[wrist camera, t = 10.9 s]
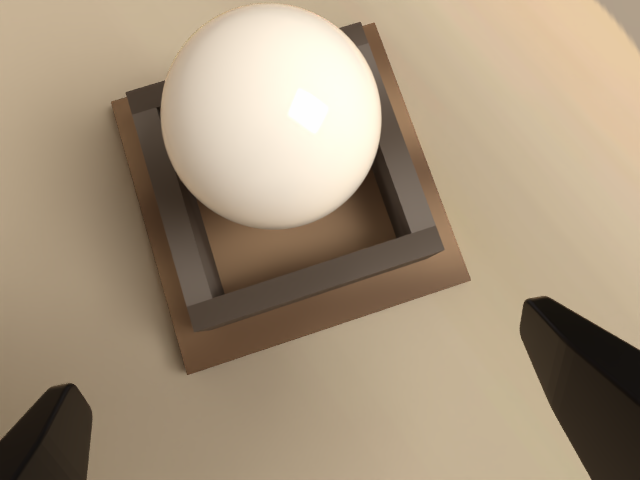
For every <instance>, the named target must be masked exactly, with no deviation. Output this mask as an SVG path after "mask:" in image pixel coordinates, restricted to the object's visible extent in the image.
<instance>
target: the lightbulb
mask: <svg viewBox="0 0 640 480" xmlns="http://www.w3.org/2000/svg"><path fill="white" fill-rule="evenodd" d="M160 119H161V130H162V136H163V141H164V145H165V148H166V151H167V154H168V157H169V159H170V162H171V164H172V166H173V168H174V170H175V172H176V173H177V175H178V177H179V178H180V180H181V181H182V182H183V184H184V185H185V186H186V188H187V189H188V190H189V191H190V192H191V193H192V194H193V195H194V197H195V198H197V199H198V200H199V201H200V202H201V203H202V204H203V205H205V206H206V207H207V208H209V209H210V210H211V211H213V212H214V213H216V214H218V215H219V216H221V217H223V218H225V219H227V220H229V221H232V222H234V223H237V224H240V225H243V226H247V227H251V228H257V229H265V230H282V229H291V228H296V227H300V226H304V225H307V224H310V223H313V222H315V221H317V220H320V219H322V218H324V217H325V216H327V215H329V214H330V213H332V212H334V211H335V210H336V209H338V208H339V207H340V206H342V205H343V204H344V203H345V202H346V201H347V200H348V199H349V198H350V197H351V196H352V195H353V194H354V193H355V192H356V190H357V189H358V188H359V187H360V185H361V184H362V182H363V181H364V179H365V178H366V176H367V174H368V172H369V170H370V168H371V166H372V164H373V162H374V159H375V156H376V153H377V150H378V146H379V141H380V135H381V124H382V113H381V102H380V96H379V92H378V88H377V84H376V81H375V78H374V76H373V73H372V71H371V69H370V67H369V65H368V63H367V61H366V59H365V58H364V56H363V55H362V53H361V52H360V50H359V49H358V47H357V46H356V45H355V44H354V43H353V41H352V40H351V39H350V38H349V37H348V36H347V35H346V34H345V33H344V32H343V31H341V30H340V29H339V28H338V27H337V26H335V25H334V24H332V23H331V22H330V21H328V20H326V19H325V18H323V17H321V16H319V15H317V14H315V13H313V12H311V11H308V10H306V9H303V8H300V7H296V6H292V5H287V4H280V3H257V4H250V5H245V6H241V7H237V8H234V9H231V10H229V11H226V12H224V13H222V14H220V15H218V16H216V17H214V18H213V19H211V20H210V21H208V22H207V23H205V24H204V25H203V26H201V27H200V28H199V29H198V30H197V31H196V32H195V33H193V35H192V36H191V37H190V38H189V39H188V40H187V41H186V42H185V44H184V45H183V46H182V48H181V49H180V50H179V52H178V53H177V55H176V57H175V59H174V60H173V62H172V64H171V67H170V69H169V71H168V74H167V77H166V80H165V83H164V87H163V92H162V98H161V109H160Z"/></svg>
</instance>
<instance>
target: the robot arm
mask: <svg viewBox="0 0 640 480" xmlns="http://www.w3.org/2000/svg"><path fill="white" fill-rule="evenodd" d="M520 335H521V339H522V341H523V343H524V346H525V348H526V350H527V353H528V355H529V358H530V360H531V362H532V365H533V367H534V369H535V372H536V374H537V376H538V379H539V381H540V383H541V386H542V388H543V390H544V393H545V395H546V397H547V399H548V402H549V404H550V406H551V408H552V410H553V412H554V414H555V416H556V417H557V419H558V421H559V423H560V425H561V426H562V428H563V430H564V432H565V433H566V435H567V437H568V439H569V441H570V442H571V444H572V446H573V448H574V449H575V451H576V453H577V455H578V456H579V458H580V460H581V462H582V464H583V465H584V467H585V469H586V471H587V472H588V474H589V476H590V478H591V480H640V350H639V349H637V348H636V347H634V346H632V345H630V344H629V343H627V342H625V341H624V340H622V339H620V338H618V337H617V336H615V335H613V334H611V333H610V332H608V331H606V330H605V329H603V328H601V327H599V326H598V325H596V324H594V323H593V322H591V321H589V320H587V319H586V318H584V317H582V316H581V315H579V314H577V313H575V312H574V311H572V310H570V309H568V308H567V307H565V306H563V305H562V304H560V303H558V302H556V301H555V300H553V299H551V298H549V297H547V296H540V297H535V298H529V299H527V300H525V302H524V304H523V310H522V316H521V322H520ZM91 429H92V411H91V408H90V406H89V404H88V403H87V401H86V400H85V398H84V397H83V395H82V394H81V392H80V391H79V389H78V388H77V386H76V385H74V384H72V383H67V384H62V385H57V386H53V387H50V388H49V389H48V390H47V391H46V392H45V393H44V394H43V395H42V396H41V397H40V398H39V399H38V400H37V401H36V403H35V404H34V405H33V406H32V407H31V408H30V409H29V410H28V411H27V412H26V413H25V414H24V416H23V417H22V418H21V419H20V420H19V421H18V422H17V423H16V424H15V425H14V426H13V427H12V429H11V430H10V431H9V432H8V433H7V434H6V435H5V436H4V437H3V438H2V439H1V440H0V480H87V470H88V460H89V450H90V439H91Z"/></svg>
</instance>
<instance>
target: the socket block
mask: <svg viewBox="0 0 640 480" xmlns="http://www.w3.org/2000/svg"><path fill="white" fill-rule="evenodd" d="M339 29H340V30H341V31H343V32H344V33H345V34H346V35H347V36H348V37H349V38H350V39H351V40H352V41H353V43H354V44H355V45H356V46H357V47H358V49H359V50H360V52H361V53H362V55H363V56H364V58H365V59H366V61H367V63H368V65H369V67H370V69H371V71H372V73H373V76H374V78H375V81H376V84H377V88H378V92H379V96H380V102H381V113H382V124H381V135H380V141H379V146H378V150H377V153H376V156H375V159H374V162H373V164H372V166H371V168H370V170H369V172H368V174H367V176H366V178H365V179H364V181H363V182H362V184H361V185H360V187H359V188H358V189H357V190H356V192H355V193H354V194H353V195H352V196H351V197H350V198H349V199H348V200H347V201H346V202H345V203H344V204H343V205H342V206H340V207H339V208H338V209H336V210H335V211H334V212H332V213H330V214H329V215H327V216H325V217H324V218H322V219H320V220H317V221H315V222H313V223H310V224H307V225H304V226H300V227H296V228H291V229H282V230H265V229H257V228H251V227H247V226H243V225H240V224H237V223H234V222H232V221H229V220H227V219H225V218H223V217H221V216H219V215H218V214H216V213H214V212H213V211H211V210H210V209H209V208H207V207H206V206H205V205H203V204H202V203H201V202H200V201H199V200H198V199H197V198H195V197H194V195H193V194H192V193H191V192H190V191H189V190H188V189H187V188H186V186H185V185H184V184H183V182H182V181H181V180H180V178H179V177H178V175H177V173H176V172H175V170H174V168H173V166H172V164H171V162H170V159H169V157H168V154H167V151H166V148H165V145H164V141H163V136H162V130H161V119H160V109H161V98H162V92H163V87H164V83H165V81H162V82H158V83H155V84H152V85H148V86H145V87H142V88H138V89H135V90H132V91H128V92H126V96H127V97H125V98H122V99H119V100H115V101H112V102H111V104H112V108H113V111H114V115H115V118H116V122H117V126H118V129H119V133H120V136H121V140H122V143H123V147H124V151H125V154H126V158H127V161H128V165H129V169H130V172H131V176H132V179H133V183H134V186H135V190H136V194H137V197H138V201H139V204H140V208H141V211H142V215H143V219H144V222H145V226H146V229H147V233H148V236H149V240H150V244H151V247H152V251H153V254H154V258H155V262H156V265H157V269H158V272H159V276H160V279H161V283H162V287H163V290H164V294H165V297H166V301H167V304H168V308H169V312H170V315H171V319H172V322H173V326H174V329H175V333H176V337H177V340H178V344H179V347H180V351H181V355H182V358H183V362H184V365H185V369H186V372H187V375H189V374H192V373H195V372H198V371H201V370H204V369H207V368H210V367H213V366H216V365H219V364H222V363H225V362H228V361H231V360H234V359H237V358H240V357H243V356H246V355H249V354H252V353H255V352H258V351H261V350H264V349H267V348H270V347H273V346H276V345H279V344H282V343H285V342H288V341H291V340H294V339H297V338H300V337H303V336H306V335H309V334H312V333H315V332H318V331H321V330H324V329H327V328H330V327H333V326H336V325H339V324H342V323H345V322H348V321H351V320H354V319H357V318H360V317H363V316H366V315H369V314H372V313H375V312H378V311H381V310H384V309H387V308H390V307H393V306H396V305H399V304H402V303H405V302H408V301H411V300H414V299H417V298H420V297H423V296H426V295H429V294H432V293H435V292H438V291H441V290H444V289H446V288H449V287H452V286H455V285H458V284H461V283H464V282H467V281H470V280H471V279H470V276H469V273H468V271H467V268H466V265H465V263H464V260H463V257H462V255H461V252H460V249H459V247H458V244H457V241H456V239H455V236H454V233H453V231H452V228H451V225H450V223H449V220H448V217H447V215H446V212H445V209H444V207H443V204H442V201H441V199H440V196H439V193H438V191H437V188H436V185H435V183H434V180H433V177H432V175H431V172H430V169H429V167H428V164H427V161H426V159H425V156H424V153H423V151H422V148H421V145H420V143H419V140H418V137H417V135H416V132H415V129H414V127H413V124H412V121H411V119H410V116H409V113H408V111H407V108H406V105H405V102H404V100H403V97H402V94H401V92H400V89H399V86H398V84H397V81H396V78H395V76H394V73H393V70H392V68H391V65H390V62H389V60H388V57H387V54H386V52H385V49H384V46H383V44H382V41H381V38H380V36H379V33H378V30H377V28H376V25H375V23H371V24H368V25H365V26H362V24H361V22H358V23H355V24H352V25H348V26H345V27H342V28H339Z"/></svg>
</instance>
